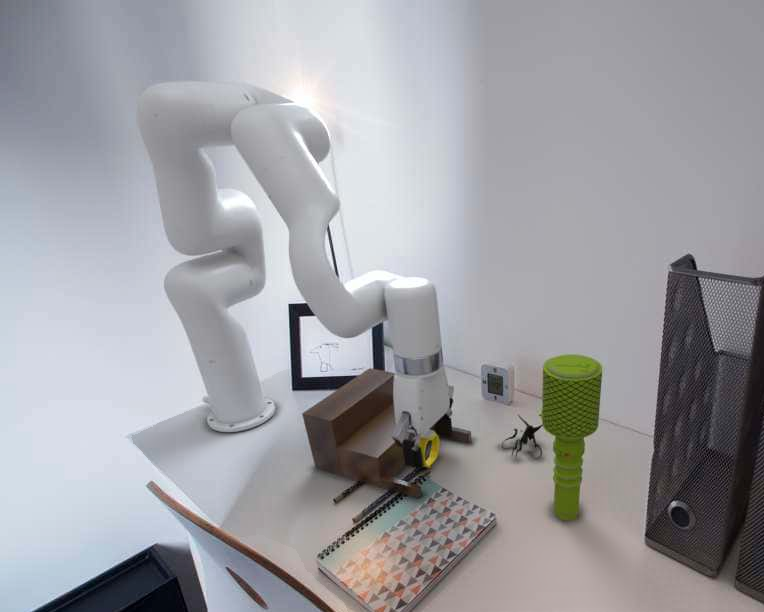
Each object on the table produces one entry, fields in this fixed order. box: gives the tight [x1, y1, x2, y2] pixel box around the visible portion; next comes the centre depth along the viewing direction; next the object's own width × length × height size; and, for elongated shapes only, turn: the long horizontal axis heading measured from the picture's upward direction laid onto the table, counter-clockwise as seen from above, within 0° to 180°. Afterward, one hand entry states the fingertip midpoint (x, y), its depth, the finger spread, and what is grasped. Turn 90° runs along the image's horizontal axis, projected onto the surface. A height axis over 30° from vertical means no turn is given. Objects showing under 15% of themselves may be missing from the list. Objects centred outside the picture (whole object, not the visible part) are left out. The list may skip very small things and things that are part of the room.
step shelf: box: [301, 367, 472, 500], centre depth 91 cm, size 21×18×11 cm
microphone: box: [538, 354, 604, 522], centre depth 74 cm, size 8×8×25 cm
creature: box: [501, 413, 543, 460], centre depth 93 cm, size 8×5×8 cm
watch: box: [418, 430, 440, 469], centre depth 90 cm, size 6×3×6 cm, turn 160°
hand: (430, 450), depth 90 cm, fingers open, 9 cm apart
